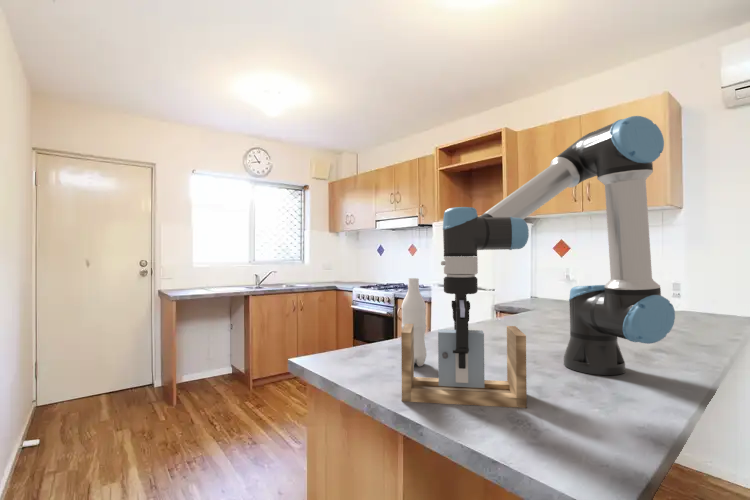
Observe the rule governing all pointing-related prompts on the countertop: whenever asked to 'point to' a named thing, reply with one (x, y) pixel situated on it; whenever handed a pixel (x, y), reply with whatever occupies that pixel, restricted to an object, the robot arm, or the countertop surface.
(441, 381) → the door panel
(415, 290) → the water bottle
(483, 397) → the door frame
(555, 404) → the countertop surface
